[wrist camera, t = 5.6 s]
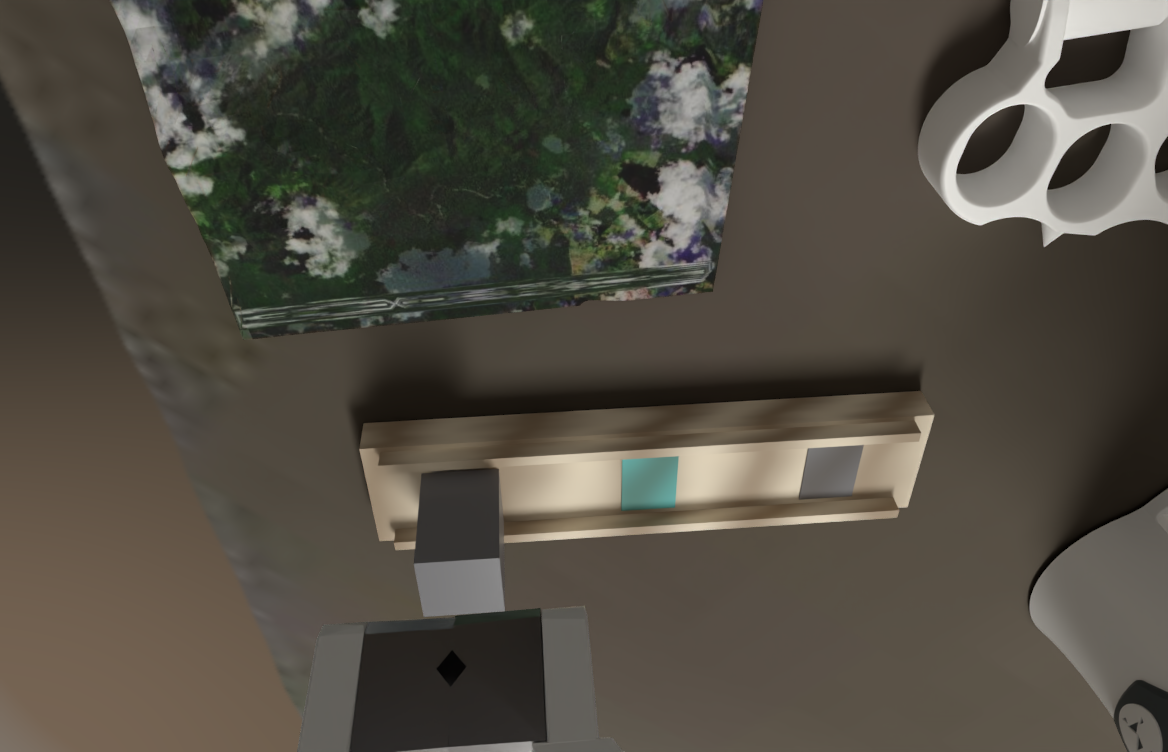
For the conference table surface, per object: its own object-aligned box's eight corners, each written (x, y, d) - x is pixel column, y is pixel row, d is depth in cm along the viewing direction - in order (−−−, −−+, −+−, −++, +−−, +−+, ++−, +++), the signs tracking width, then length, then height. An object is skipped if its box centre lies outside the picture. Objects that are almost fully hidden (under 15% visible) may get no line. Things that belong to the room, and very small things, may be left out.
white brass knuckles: (1402, -147, 36) (1276, 191, 45) (935, -72, 37) (904, 248, 46) (1472, -129, 34) (1323, 226, 43) (969, -48, 34) (928, 286, 43)
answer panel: (921, 390, 51) (941, 427, 49) (895, 482, 55) (913, 520, 53) (363, 423, 49) (357, 462, 47) (382, 514, 54) (377, 555, 52)
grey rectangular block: (498, 468, 49) (499, 558, 44) (503, 521, 51) (504, 611, 47) (421, 473, 49) (413, 563, 44) (430, 526, 51) (424, 616, 46)
